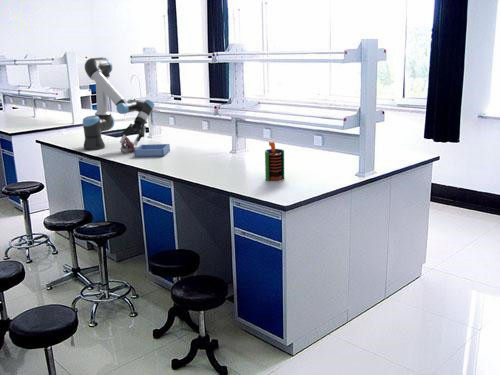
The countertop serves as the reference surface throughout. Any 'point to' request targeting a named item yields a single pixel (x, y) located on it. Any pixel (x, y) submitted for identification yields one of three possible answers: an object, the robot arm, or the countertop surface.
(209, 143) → the countertop surface
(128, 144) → the brake caliper
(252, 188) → the countertop surface
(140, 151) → the parts bin
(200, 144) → the countertop surface
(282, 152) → the motor
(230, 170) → the countertop surface
